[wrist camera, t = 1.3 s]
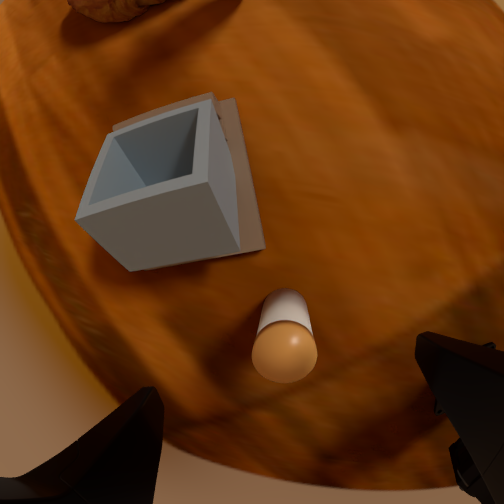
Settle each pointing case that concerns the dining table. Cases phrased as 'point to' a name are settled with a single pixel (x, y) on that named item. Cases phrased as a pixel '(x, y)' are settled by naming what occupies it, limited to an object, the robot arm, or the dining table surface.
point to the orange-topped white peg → (284, 338)
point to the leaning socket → (173, 187)
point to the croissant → (112, 9)
